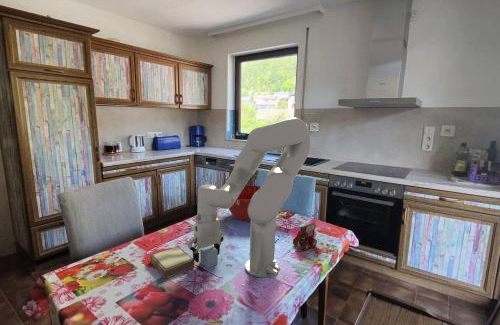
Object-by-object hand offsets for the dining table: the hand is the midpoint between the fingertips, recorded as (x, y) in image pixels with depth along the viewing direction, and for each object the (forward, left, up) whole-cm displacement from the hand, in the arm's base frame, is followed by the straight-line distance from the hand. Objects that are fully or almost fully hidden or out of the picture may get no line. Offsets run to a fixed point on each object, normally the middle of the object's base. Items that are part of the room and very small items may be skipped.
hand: (206, 256), depth 105 cm
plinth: (+7, +11, -2) cm, 14 cm away
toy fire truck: (-16, -43, -3) cm, 46 cm away
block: (-1, -1, -3) cm, 3 cm away
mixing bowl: (+28, -45, -3) cm, 53 cm away
